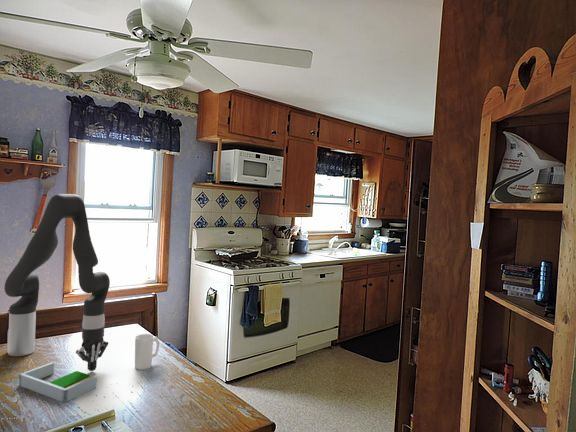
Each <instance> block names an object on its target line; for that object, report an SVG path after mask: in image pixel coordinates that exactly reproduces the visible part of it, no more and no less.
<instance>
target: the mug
mask: <svg viewBox="0 0 576 432" xmlns="http://www.w3.org/2000/svg"><path fill="white" fill-rule="evenodd" d="M134 338H135V339H134V340H135V341H134V342H135V343H134V347H135V348H134V368H135V369H137V370H141V371H142V370H148V369H150V368H151V367H152V362H153V358H155V357H157V355H158V352H159V350H160V341H159V339H158V338H159V337H158V336H154V335H153V334H151V333H150V334H149V333H142V334H137V335H136V336H135V337H134ZM154 342H155V344H156V347H155V350H154V352H153V349H154Z"/></svg>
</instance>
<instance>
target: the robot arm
mask: <svg viewBox="0 0 576 432" xmlns="http://www.w3.org/2000/svg"><path fill="white" fill-rule="evenodd" d="M63 219H71V220H72V221H73V224H74V237H73V241H72V251H73V255H74V259H75V261H76V263H77V270H78V271H77V273H78V285H79V287H80V289H81V290H82V291H83V292H84V293H85V294H90V296H89V297H87V298H85V300H84V302H83V316H82V325H81V326H82V327H81V330H82V331H81V337H82V343H81V347H80V348H79V349H77V350H76V351H75V354H77V356H78V357H79V358H80V359H81V360H82V362H86V363H87V368H86V369H87V370H88V371H89V372H94V371H96V368H97V363H98V359H99V358H101V357H103V354H104V353H105V350H106V348H107V347H108V346H109V342H108V341H105V340H104V339H105V338H104V337H105V321H106V320H105V301H106V299H107V297H108V292H109V289H110V284H111V283H110V277H109V275H108V274H107V273H106V272H104V271H98V272H94V268H95V267H96V266H97V265H98V264H99V259H98V256H97V254H96V250H95V248H94V245H93V242H92V238H91V235H90V234H91V233H90V228H89V221H88V215H87V210H86V205H85V203H84V200H83V198H82V197H81V196H80V195H78V194H76V193H75V194H74V193H58V194H55V195H52V196H51V197H50V199H49V201H48V203H47V205H46V208H45V209H44V212H43V215H42V217H41V220H40V222H39V224H38V227H37V228H36V230H35V232H34V234H33V236H32V237H31V239H30V240H29V243H28V244H27V246H26V248H25V250H24V252H23V253H22V256H21V257H20V259H19V260H18V262H17V264H16V265H15V266H14V268H12V271H10V273H9V275H8V276H7V277H6V280H5V283H4V292H5V295H7V296H8V297H10V298H17V297H20V298H19V299H18V300H17V301H16V302H14V303H12V304H11V305H10V306H9V310H8V314H9V315H8V330H7V347H6V353H7V355H8V356H10V357H22V356H27V355H30V354H33V353H34V352H35V351H36V350H35V347H36V346H35V344H36V322H37V321H36V320H37V319H36V318H37V314H36V313H37V306H38V304H39V292H40V279H39V276H38V275H37V274H36V273H35V272H34V271H35V270H37V269H39V268H40V267H41V266H43V265H44V264H45V263H46V262H47V261H49V260H50V259H51V257H52V256H53V254H54V252H55V251H56V249H57V247H58V244H59V240H58V235H57V228H58V226H59V223H60V222H61V221H62V220H63Z"/></svg>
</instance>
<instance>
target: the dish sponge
mask: <svg viewBox="0 0 576 432" xmlns="http://www.w3.org/2000/svg"><path fill="white" fill-rule="evenodd" d="M90 377H91V375H90V374H88V373H85V372H83V371H82V372H81V371H79V370H76V371H73V372H72V373H71V372H70V373H69V374H66V375H64V376H62V377H59V378H56V379H54V380H52V381H48V382H49V383H51V384H54V385H57V386H60V387H63V388H68V387H70V386H72V385H74V384H77V383H79V382H81V381H84V380H86V379H88V378H90Z"/></svg>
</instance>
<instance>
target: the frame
mask: <svg viewBox="0 0 576 432" xmlns="http://www.w3.org/2000/svg"><path fill="white" fill-rule="evenodd" d="M54 373H55V362H53V361H52V362H49V363H47V364H44V365H41V366H38V367H36V368H33V369H30V370H27V371H25V372H22V373H19V376H18V377H19V381H18V386H20V387H21V388H25V389H27V390H30V391H32V392H34V393H35V392H36V393H37V394H41V395H43V396H45V397H48V398H51V399H54V400H56V401H59V402H62V403H66V402H69V401H71V400H73V399H75V398H77V397H79V396H81V395H83V394H85V393H87V392H90V391H92V390H94V389H95V388H97V375H92V376H90V378H88V379H86V380H84V381H81V382H79V383H77V384H74V385H72V386H70V387H68V388H63V387H60V386H57V385H54V384H51V383H49V382H50V381H45V380H43V378H45V377H48V376H50V375H53V374H54Z"/></svg>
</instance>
